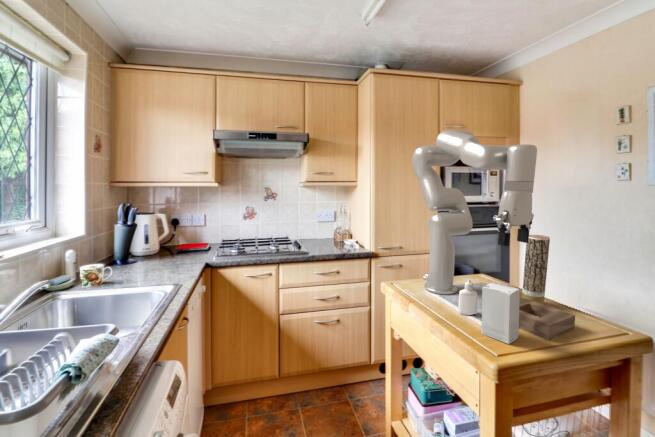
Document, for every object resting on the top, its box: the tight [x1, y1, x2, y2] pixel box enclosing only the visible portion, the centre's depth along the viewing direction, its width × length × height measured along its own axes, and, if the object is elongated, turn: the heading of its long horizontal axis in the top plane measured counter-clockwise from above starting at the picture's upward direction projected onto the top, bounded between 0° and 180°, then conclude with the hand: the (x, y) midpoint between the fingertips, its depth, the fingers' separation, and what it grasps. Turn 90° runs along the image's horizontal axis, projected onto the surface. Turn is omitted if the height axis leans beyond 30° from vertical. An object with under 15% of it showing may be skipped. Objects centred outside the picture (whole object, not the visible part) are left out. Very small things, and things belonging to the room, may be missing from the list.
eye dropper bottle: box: [457, 278, 479, 316], centre depth 109 cm, size 4×6×12 cm
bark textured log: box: [521, 234, 551, 305], centre depth 115 cm, size 7×7×25 cm
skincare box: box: [481, 282, 521, 345], centre depth 93 cm, size 8×6×15 cm
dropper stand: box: [519, 297, 576, 341], centre depth 102 cm, size 16×14×4 cm
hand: (513, 243), depth 99 cm, fingers open, 9 cm apart
